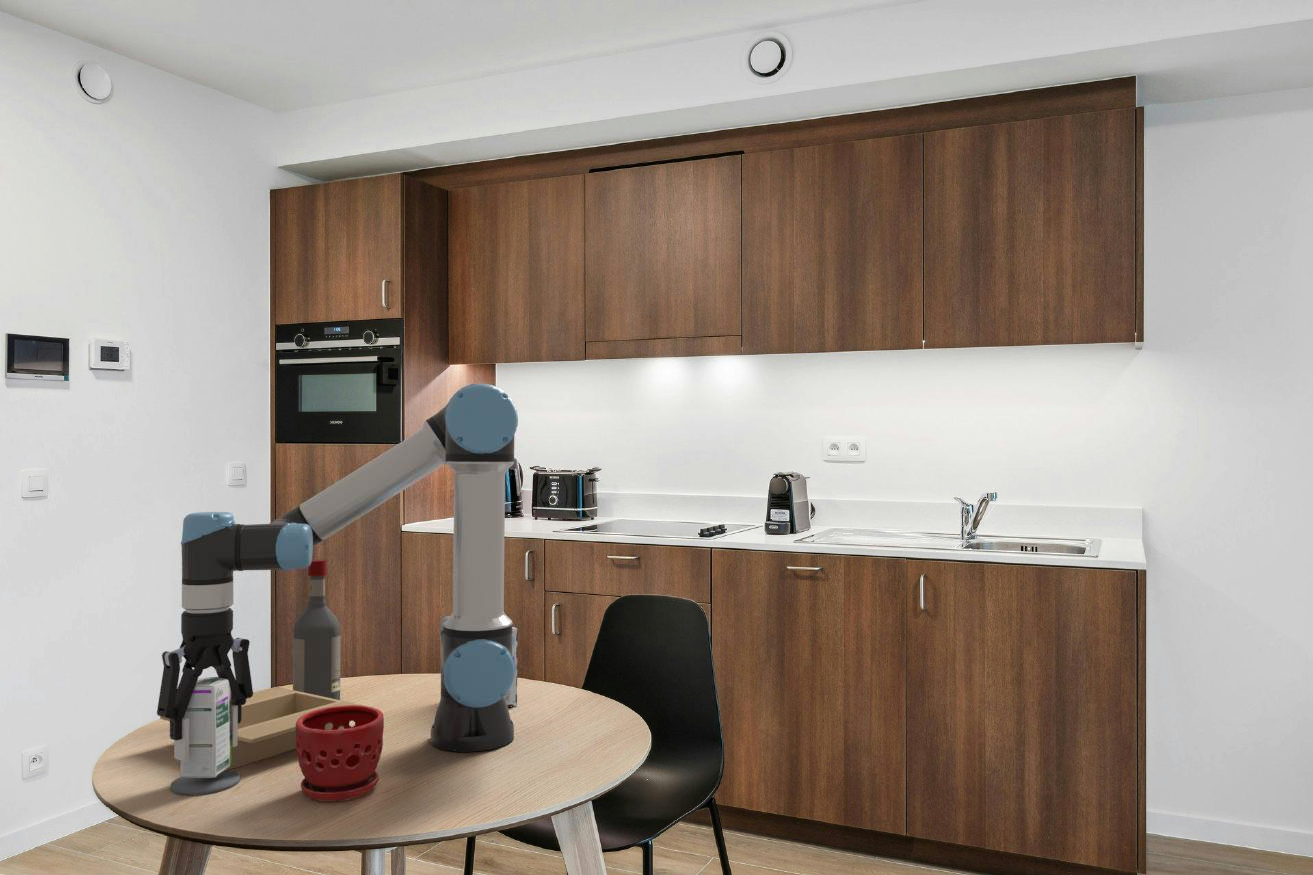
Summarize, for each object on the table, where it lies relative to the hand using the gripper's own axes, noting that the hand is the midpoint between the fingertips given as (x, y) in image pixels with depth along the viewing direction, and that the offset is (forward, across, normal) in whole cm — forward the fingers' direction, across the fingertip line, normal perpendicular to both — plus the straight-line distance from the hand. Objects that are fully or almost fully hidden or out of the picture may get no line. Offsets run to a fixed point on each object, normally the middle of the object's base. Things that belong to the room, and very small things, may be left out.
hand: (206, 751), depth 151 cm
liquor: (+5, -41, -25) cm, 48 cm away
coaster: (+5, 0, 0) cm, 5 cm away
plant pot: (+5, -9, +21) cm, 23 cm away
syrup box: (+3, 0, 0) cm, 3 cm away
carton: (+5, -18, -10) cm, 21 cm away
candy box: (+5, -62, +5) cm, 62 cm away
